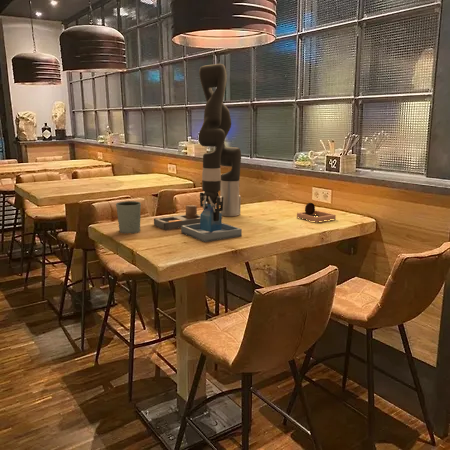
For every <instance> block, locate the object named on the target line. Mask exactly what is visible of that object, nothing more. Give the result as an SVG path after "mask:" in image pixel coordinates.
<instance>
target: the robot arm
mask: <svg viewBox="0 0 450 450" xmlns="http://www.w3.org/2000/svg"><path fill="white" fill-rule="evenodd" d="M198 74H199V75H198V76H199V81H200V84H201V88H202V91H203V94H204V97H205V102H206V103H205V105H204V108H203V109H204V111H203V122H202V125H201V127H200V130H199V133H198V136H197V140H198V143H199V145H200V146H201V147H210V148H211V147H212V148H213V147H214V148H215V149H214V150H213V151H210V152H205V153H204V154H203V155H202V173H201V180H202V181H201V190H202V191H203V192H199V205H200V207H201V208H202V209H203V210H204V209H205V208H208V206H207V203H208V201H210V204H211V207H212V208H213V211H214V221H219V212H220V213H221V215H222V217H223V216H224V217H236V216H239V215H241V208H242V207H241V205H242V202H241V200H242V198H241V196H242V195H240V178H241V177H240V176H241V164H242V163H241V162H242V151H241V149H240V148H239V147H235V146H234V147H233V146H226V145H225V141H226V138H227V136H228V134H229V132H230V129H231V127H232V119H231V113H230V110H229V108H228V107H227V105H225V103H224V102H223V101H224V97H225V92H226V87H227V81H228V79H227V78H228V76H227V70H226V66H225V65H224V64H223V63H215V64H213V63H212V64H207V65H202V66H200V67H199V73H198ZM213 88H215V90H213ZM221 166H222V167H231V170H229V171H227V172H225V173H221ZM219 193H220V195H219Z"/></svg>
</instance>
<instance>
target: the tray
mask: <svg viewBox="0 0 450 450" xmlns="http://www.w3.org/2000/svg"><path fill="white" fill-rule="evenodd" d="M242 230H243V229H242V228H240V227H237V226H234V225H231V224H228V223H224V222H222V227H221V230H218V231H213V232H208V231H205V230H201V229H200V223H197V224H190V225H183V226H181V228H180V233H181V234H183V235H186V236H189V237H191V238H193V239H196V240H198V241H200V242H202V243H209V242H215V241H220V240H227V239H232V238H238V237H242V233H243V231H242Z"/></svg>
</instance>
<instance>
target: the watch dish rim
mask: <svg viewBox="0 0 450 450" xmlns="http://www.w3.org/2000/svg"><path fill="white" fill-rule="evenodd" d="M315 214H316V215H320V216H321V217H314V216H310V215H307V214H306V212H305V211H302V212H297V213H296V218H297V217H299V218H303V219H307V220H310V221H315V222H319V221H324V220H330V219H335V220H336V218H337V217H336V216H337V214H334V213H330V212H326V211H320V210H316V209H315V212H314V213H313V214H312V215H315ZM299 218H298V219H299ZM303 219H302V220H303ZM310 221H309V222H310Z"/></svg>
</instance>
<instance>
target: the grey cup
mask: <svg viewBox="0 0 450 450" xmlns="http://www.w3.org/2000/svg"><path fill="white" fill-rule="evenodd" d="M141 205H142V203H141V202H140V201H133V200H132V201H131V200H130V201H129V200H128V201H119V202H116V203H115V207H116V213H117V215H116V216H117V223H118V230H119V233H120V234H126V233H127V235H128V233H131V234H138V233H140V232H141V218H142V217H141V208H142V207H141Z"/></svg>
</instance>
